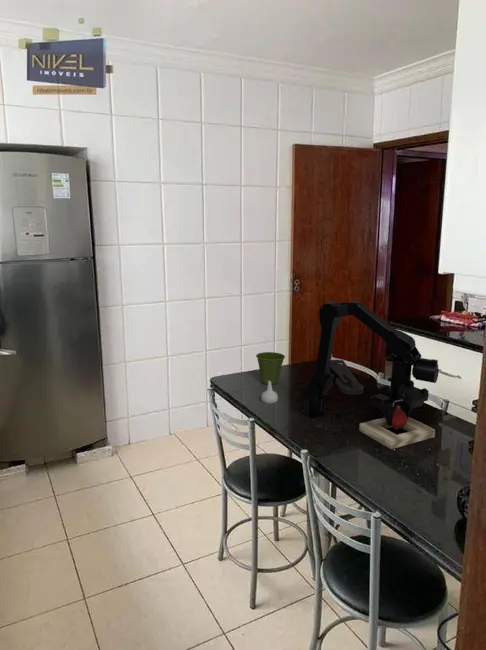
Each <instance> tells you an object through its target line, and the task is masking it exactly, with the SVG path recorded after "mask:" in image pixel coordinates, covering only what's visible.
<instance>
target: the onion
mask: <svg viewBox="0 0 486 650" xmlns="http://www.w3.org/2000/svg"><path fill="white" fill-rule="evenodd" d="M395 408H397V409H396V410H395V411H394V412H393V419H392V424H391V427H390V428H393V429H394V430H395V431H398V430H400V429H402V427H404V426H405V425H406V423H407V416H406V414H405V412H404V411H403V410H402V409H401V405H399V404H398V405H397V406H396V407H395Z"/></svg>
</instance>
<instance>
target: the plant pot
mask: <svg viewBox="0 0 486 650" xmlns="http://www.w3.org/2000/svg"><path fill="white" fill-rule="evenodd" d="M255 357H256V358H257V363H258V369H259V370H258V371H259V377H260V382H261V383H262V384H264V385H268V381H271V385H277V384H278V383H279V380H280V375H281V372H282V365H283V362H284V359H286V355H285V354H283V353H280V352H275V351H274V352H272V351H265V352H263V351H262V352H258V353H257V354H256V355H255ZM276 383H277V384H276Z"/></svg>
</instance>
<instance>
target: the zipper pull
mask: <svg viewBox="0 0 486 650" xmlns="http://www.w3.org/2000/svg"><path fill="white" fill-rule="evenodd" d="M330 368H331V369H332V371H334V373H335V374H336V375H337V376H338V377H335V381H334V382H335V385H336V386H337V387H338V389H339V391H340V392H341V393H342V394H345V395H361V394H364V385H363V384H361V383H360V382H359V381H358V380H357V378H356V377H355V376H354V374H353V373H352V372H351V370H350V368H349V367H348V365H347V364H346V363H345V360H343V359H331V362H330Z"/></svg>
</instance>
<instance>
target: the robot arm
mask: <svg viewBox="0 0 486 650" xmlns="http://www.w3.org/2000/svg"><path fill="white" fill-rule="evenodd" d="M347 316H354V317H355V318H356V319H357V320H359V321H360V322H361V323H362V324H364V326H366V327H367V328H369V329H370V330H371V331H372V332H373V333H374V334H376V335H377V336H378V337H380V338H381V339H382V340H383V341H384V343H385V345H386V346H387V349H389V350H390V351H391V352H392V353H391V354H390V355H389V356H387V357H386V358H385V361H386V362H391V363H392V364H391V376H390V377H388V378H387V382H390V387H389V388H390V389H388V390H386V394H387V395H389V396H387V395H384V394H382V393H379V394H374V395H372V396H370V400H369V404H370V405H371V406H373V407H375V408H377V409H380V410H381V412H382V414H383V418H385V419H386V422H387V424H388V425H389V426H391V424H392V419H393V412H394V411H395V410H396V409H397V408H396V407H395V403H396V402H400V408H401V409H402V410H403V411H404V412H405V414H406V416H407V419H408V417H410V415H411V413H412V411H413V409H415V408H419V407H422V406H423V404H424V403H425V402H428V401H429V390H428V389H427V388H418V387H416V386H415V382H414V380H411V379H412V378H411V377H413V378H414V379H415V380H417V381H420V382H421V381H422V382H427V383H433V384H436V383H437V380H438V378H439V373H440V369H439V364H438V363H439V360H438V359H434V358H433V359H432V358H431V359H430V358H425V357H422V354H421V353H420V351H419V349H418V348H417V346H416V340H415V338H414V337H413V336H412V335H409V334H408V333H405V332H404V331H402V330H399V329H396V328H394V327H393V326H392V325H390V324H388V323H387V322H386V321H385V320H384V319H382V318H381V317H380V316H378V315H377V314H376V313H375V312H373V311H372V310H370V308H368V307H367V306H366V305H364V303H363V302H362V301H360V300H356V301H352V302H351V301H349V302H348V301H346V302H339V301H336V300H332V301H330V302H327V303H324V304H322V305H321V306H320V307H319V309H318V323H319V325H320V329H321V330H320V335H319V343H318V351H317V357H316V364H315V368H314V371H313V373H312V375H311V376H310V380H309V383H308V385H307V386H308V387H306V388H305V389H304V390H303V391H302V392H301V397H302V400H303V409H301V410H300V412H301V413H303V414H304V415H306V416H307V417H309V418H310V419H314V418H317V417H322V416H326V415H327V412H326V411H325V405H326V400H325V395H326V393H327V392H328V391H329V390H331V388H332V387H333V386H334V378H335V374H333V373H331V370H330V368H331V367H330V362H331V360H332V355H333V348H334V342H335V336H336V329H337V327H339V326H338V325H339V324H340V322H341V321H342V317H347Z"/></svg>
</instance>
